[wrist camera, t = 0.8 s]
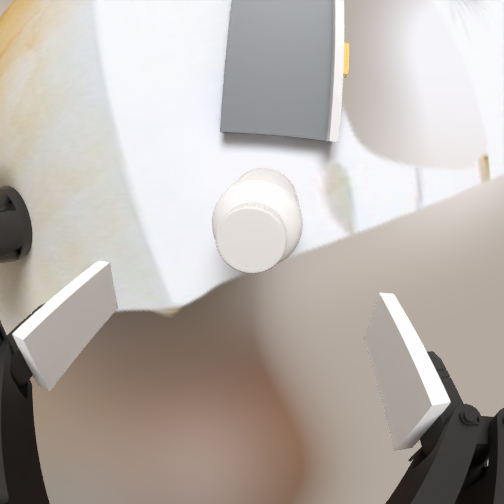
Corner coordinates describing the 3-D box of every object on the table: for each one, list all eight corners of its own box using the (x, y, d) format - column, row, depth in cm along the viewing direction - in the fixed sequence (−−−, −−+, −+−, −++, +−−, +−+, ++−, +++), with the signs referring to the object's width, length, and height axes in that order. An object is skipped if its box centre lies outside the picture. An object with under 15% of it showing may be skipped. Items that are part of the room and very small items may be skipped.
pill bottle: (224, 217, 36) (187, 268, 22) (245, 157, 32) (217, 170, 19) (282, 239, 36) (281, 303, 22) (306, 181, 33) (324, 211, 19)
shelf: (223, 132, 31) (216, 131, 28) (235, -5, 24) (230, -19, 20) (336, 142, 30) (344, 143, 27) (342, 4, 23) (348, -10, 19)
